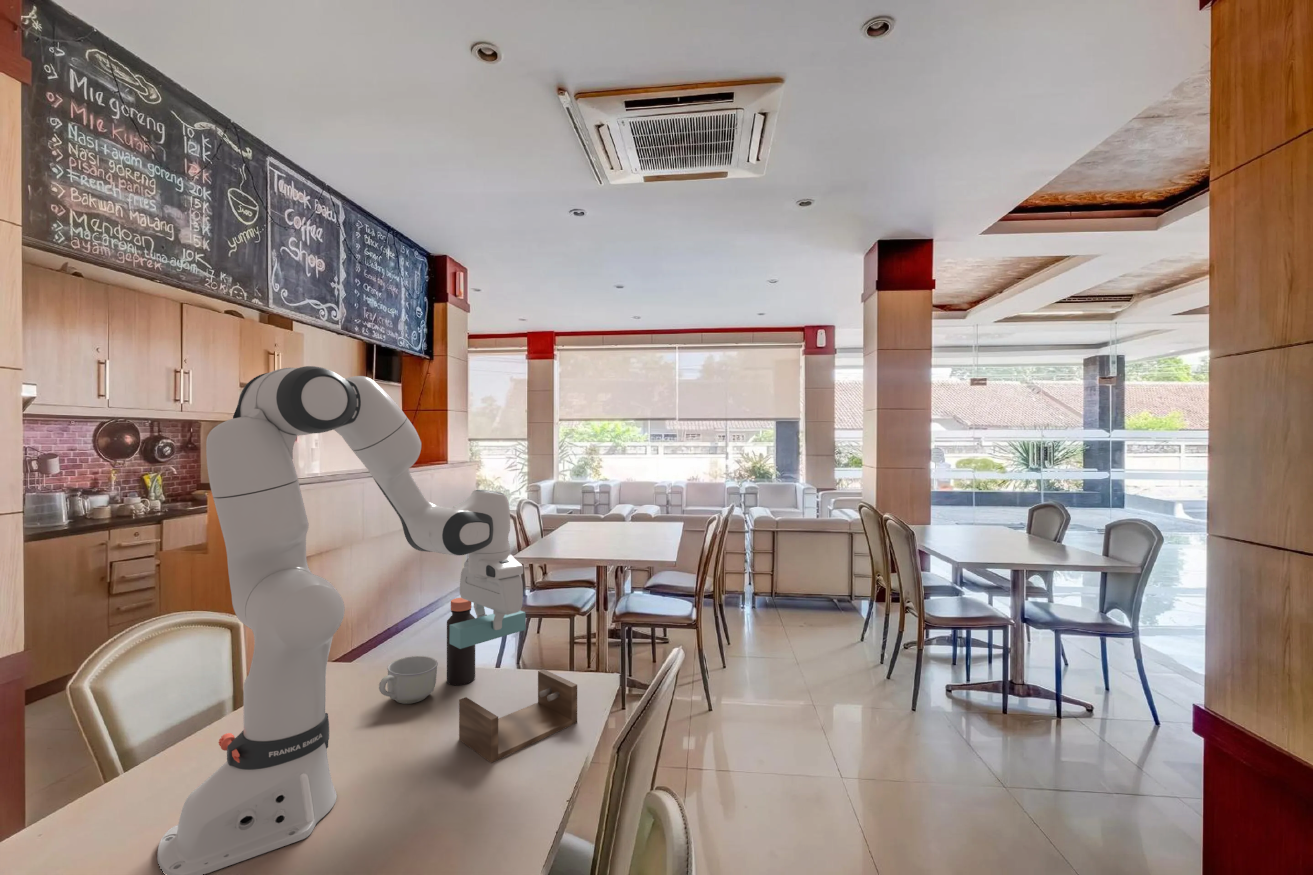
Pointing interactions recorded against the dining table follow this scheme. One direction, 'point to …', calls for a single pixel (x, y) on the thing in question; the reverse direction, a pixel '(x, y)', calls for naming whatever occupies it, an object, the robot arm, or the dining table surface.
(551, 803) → the dining table surface
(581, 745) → the dining table surface
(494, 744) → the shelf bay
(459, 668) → the bottle
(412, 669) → the teacup
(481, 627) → the shelf board
